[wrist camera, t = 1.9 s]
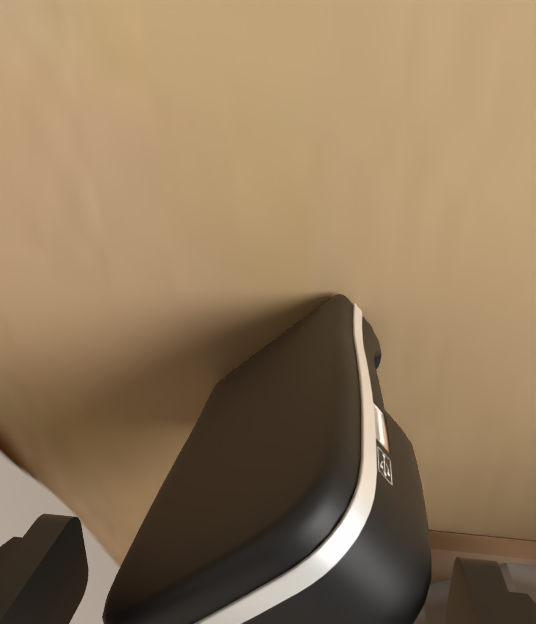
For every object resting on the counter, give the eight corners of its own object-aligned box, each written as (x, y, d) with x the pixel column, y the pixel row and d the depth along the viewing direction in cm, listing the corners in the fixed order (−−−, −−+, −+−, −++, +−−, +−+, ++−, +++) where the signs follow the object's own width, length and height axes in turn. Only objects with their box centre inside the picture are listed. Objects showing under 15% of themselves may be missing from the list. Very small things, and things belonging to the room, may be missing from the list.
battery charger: (270, 451, 21) (192, 776, 11) (209, 385, 21) (61, 662, 10) (410, 359, 19) (488, 658, 8) (346, 282, 18) (342, 501, 8)
